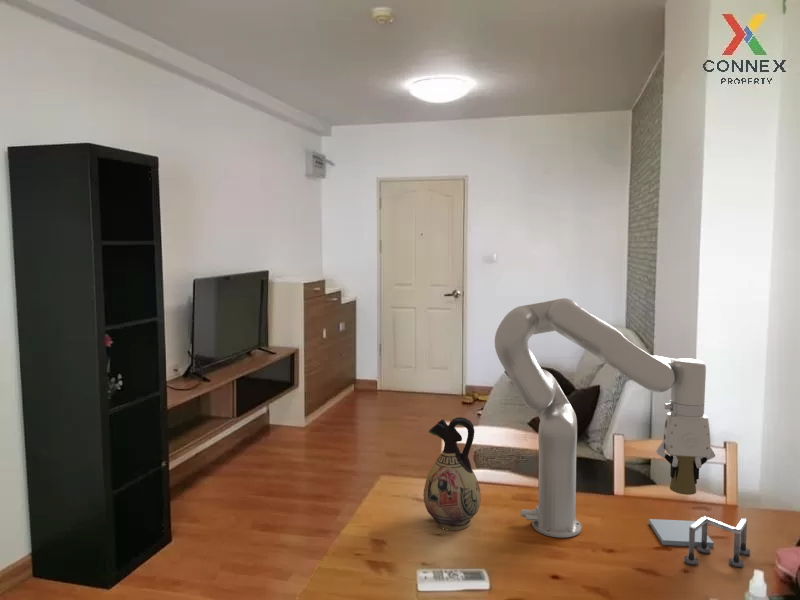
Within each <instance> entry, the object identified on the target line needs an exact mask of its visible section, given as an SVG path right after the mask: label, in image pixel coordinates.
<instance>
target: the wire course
mask: <svg viewBox="0 0 800 600" xmlns="http://www.w3.org/2000/svg"><path fill="white" fill-rule="evenodd" d="M708 525H712V526H714V527H716V528H720V529H721V530H724V531H728V532H730V533H732V534H734V535H733V557H730V558H728V565H730V566H731V567H733V568H737V569H742V568H744V565H745V564H744V563H745V562H744V561H743V560H742V559H740V556H746V557H748V556H750V555H751V550H750V549H749V548H747V531H748V530H747V529H748V518H746V517H741V519H740V521H739V522H738V523H737V525H736V527H735V526H732V525H729V524H727V523H724V522H722V521H719V520H717V519H713V518H710V517H708V516H706V515H702V517H700V518H699V519H697V520H696V522H695V523H694V524H693V525H692V526H690V527H689V546H688V555H685V556H684V557H683V559H684V560H683V562H684V563H685V564H686V565H690V566H695V567H696V566H698V565H699V559H698V558H697V557H695V547H696V546H695V531H696V530H698V529H699V528H700V527H701V528H702V540H701V545H698V546H697V547H696V551H697V552H699V553H701V554H705V555H708V554H711V553H712V549H711V548H712V547H709V546H707V535H708Z"/></svg>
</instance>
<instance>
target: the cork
mask: <svg viewBox="0 0 800 600" xmlns="http://www.w3.org/2000/svg"><path fill="white" fill-rule="evenodd" d="M676 457H677V459H678V464H677V466H676V467H679V471H678V475H677V480H676V470H675V474H674V478H671V477H670V478H671V479H670V484H669V489H670V491H672V492H674V493H676V494H680V495H687V496H690V495H695V494H696V493H697V486H696V485H697V484H695V481H694V465H693V461H694V460H695V457H689V456H683V457H682V456H676Z"/></svg>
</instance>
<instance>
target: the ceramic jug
mask: <svg viewBox="0 0 800 600" xmlns="http://www.w3.org/2000/svg"><path fill="white" fill-rule="evenodd" d="M456 426H463V427H464V428H466V430H467V437H466V442H465V445H464V447H463V450H462V453H461V451H460V448H459V447H458V444H457V443H458V442H462V441H463V436H462V435H461V434H460V432H458V431H457V429H456ZM428 433H430V434H432V435H433V436H436V437H438V438H440V439H441V440H442V441H443V444H444V446H443V450H442V452H441V453H440V455H438V458H436V460H435V462H434V463H433V465H432V466H431V468H430V469H429V472H428V474H427V477H426V480H425V484H424V489H423V494H422V495H423V503H424V506H425V509H426V511H427V513H428V514H429V516H431V518H432V519H433V520H434V521H435V522H436V523H435V525H436V524H437V525H438V526H439V527H441V528H444V529H443V530H445V529H448V530H447V531H458V530H463V529H466V528H469V527H470V526H471V520H472V519H473V518H474V516H476V514H478V512H479V509H480V507H481V502H482V497H481V494H482V493H481V488H480V484H479V481H478V478H477V476H476V474H475V472H474V470H473V469H472V464H471V462H470V458H469V454H470V451H471V447H472V444H473V441H474V440H475V428H474V424H473V423H472V421H471V420H469V419H468V418H466V417H462V416H461V417H456V418H453V419H452V420H450V422H449V423H448V424H447V422H446V420H445V419H441V420H440V421H438V422H437V423H436V424H434V426H432V427H431V428H430V429H429V430H428ZM437 525H436V526H437ZM438 526H437V527H438ZM439 527H438V528H439ZM441 528H440V529H441Z"/></svg>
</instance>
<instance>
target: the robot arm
mask: <svg viewBox="0 0 800 600" xmlns="http://www.w3.org/2000/svg"><path fill="white" fill-rule="evenodd" d="M552 332H556V333H558V334H560V335H561V336H563V337H564V338H566V339H568V341H571V342H572V343H574V344H576V345H578V346H579V347H581V348H582V349H584V350H585V351H588V352H589V353H590V354H593V356H595V357H597V358H598V359H599V360H601V361H602V362H603V363H605V364H606V365H609V366H610V367H611V368H613V369H615V370H616V371H618V372H619V373H621V374H622V375H624V377H627V378H628V379H630V380H631V381H633V382H635V383H636V384H638V385H639V386H641V387H642V388H644V389H646V390H648V391H650V392H653V393H664V392H667V391H668V390H670V400H669V403H664V409H665V410H668V411H669V412H667V414H666V417H665V421H664V428H663V436H662V442H661V443H660V445H659V446H658V447H657V449H656V451H655V452H656V454H657V455H658V456H659V457H662V458H663V459H665V460H666V461H667V462H668V463H669V464H670V474H669V475H670V478H674V474H675V470H676V480H677V475H678V471H679V467H676V466H677V464H678V459H677V457H676V456H682V457H683V456H689V457H695V460H694V461H693V465H694V481H695V485H697V483H698V482H697V481H698V480H699V479H700V469H701V468H702V466H703V465H704V464H705V463H706V462H708V461H709V460H711V459H713V458H715V457H716V454H715V452H714V450H713V449H712V447H711V432H710V423H709V418H708V416H707V415H706V414H705V402H706V401H705V398H706V397H705V394H706V377H707V375H706V374H707V373H706V372H707V368H706V364H705V362H704V361H702V360H699V359H695V358H671V357H665V356H660V355H651V354H649V353H648V352H646V351H644V350H643V349H641V348H640V347H638V346H637V345H635V344H634V343H633V342H631V341H630V340H629V339H628V338H627V337H625V336H624V335H623V333H622V332H620V331H619V330H617V328H615V327H613V326H612V325H610V324H609V323H607V322H606V321H603V319H600V318H598V317H596V316H595V315H593V314H591V313H590V312H589V311H587V310H586V309H584V308H583V307H580V306H579V304H577V303H576V301H574V300H573V299H571V298H570V299H569V298H558V299H553V300H547V301H543V302H538V303H532V304H526V305H525V304H524V305H520V306H517V307H515V308H513V309H511V310H510V311H509V312H507V313H506V315H504V317H503V319H502V320H501V322H500V324H499V325H498V327H497V329H496V331H495V335H494V348H495V353H496V355H497V357H498V360H499V362H500V364H501V365H502V367H503V369H504V371H505V372H506V374H507V377H508V378H509V380H510V381H511V383H512V385H513V386H514V388H515V390H516V392H517V394H518V396H519V398H520V400H521V401H522V403H523V404H524V405H525V406H526V407H527V408H528V409H530V410H532V411H535V413H536V416H537V417H538V418H539V424H538V434H537V435H538V437H537V438H538V505H536V506H535V507H536V508H532V509H520V518H525V519H526V521H532V527H533V528H534V530H535V531H537V532H538V533H540V534H542V535H545V536H548V537H552V538H563V539H564V538H572V537H575V536H577V535H579V534H580V533H581V532H582V523H581V522H580V521H579V520H578V519H577V518H576V501H577V500H576V499H577V497H576V496H577V495H576V493H577V492H576V491H577V444H578V443H577V442H578V419H577V415H576V412H575V410H574V408H573V407H572V404H571V403H570V401H569V400H568V398H567V396H566V395H565V393H564V390H563V389H562V388H561V386H560V384H559V382H558V381H557V379H556V377H554V376H553V374H552V373H550V372H549V371H548V370H546V369H545V368H544V369H543V368H541V366H540V364H539V363H538V361H537V358H536V356H535V355H534V354H533V352H532V351H531V349H530V347H529V343H528V341H529V339H530V338H531V337H532V336H534V335H537V334H545V333H552Z"/></svg>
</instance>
